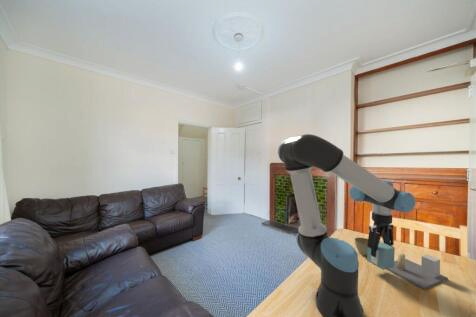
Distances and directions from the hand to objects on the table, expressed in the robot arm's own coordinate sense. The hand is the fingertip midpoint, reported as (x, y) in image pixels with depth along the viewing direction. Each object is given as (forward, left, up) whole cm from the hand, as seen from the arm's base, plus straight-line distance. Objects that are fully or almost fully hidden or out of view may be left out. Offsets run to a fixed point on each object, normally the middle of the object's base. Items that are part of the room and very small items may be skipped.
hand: (380, 261), depth 84 cm
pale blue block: (0, 0, -1) cm, 1 cm away
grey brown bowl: (+10, +14, -6) cm, 18 cm away
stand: (+15, -5, -6) cm, 16 cm away
